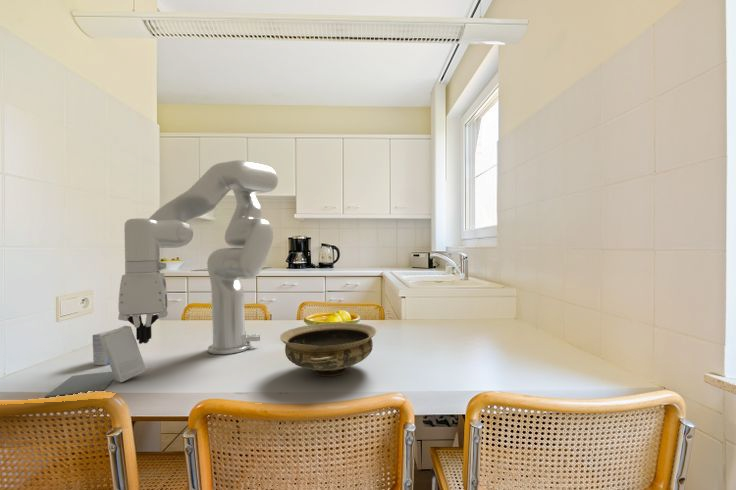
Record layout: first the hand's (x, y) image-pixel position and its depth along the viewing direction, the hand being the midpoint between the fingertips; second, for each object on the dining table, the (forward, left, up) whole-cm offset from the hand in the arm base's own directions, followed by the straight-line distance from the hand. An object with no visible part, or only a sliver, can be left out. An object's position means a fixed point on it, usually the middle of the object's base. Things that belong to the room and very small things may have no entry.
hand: (144, 342), depth 95 cm
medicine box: (+13, -20, -9) cm, 26 cm away
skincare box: (+3, 0, -8) cm, 9 cm away
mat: (+13, -1, -9) cm, 15 cm away
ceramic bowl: (-44, +13, -9) cm, 47 cm away
